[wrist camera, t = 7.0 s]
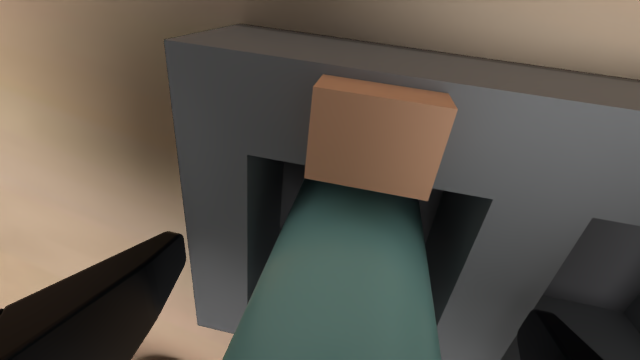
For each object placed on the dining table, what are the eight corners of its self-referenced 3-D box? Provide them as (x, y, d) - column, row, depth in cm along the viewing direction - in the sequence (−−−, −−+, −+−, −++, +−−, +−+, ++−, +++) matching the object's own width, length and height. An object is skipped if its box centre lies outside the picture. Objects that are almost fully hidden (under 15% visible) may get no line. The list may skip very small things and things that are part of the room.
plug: (402, 250, 13) (418, 560, 6) (299, 229, 13) (198, 495, 6) (431, 155, 11) (510, 457, 4) (308, 134, 11) (173, 371, 4)
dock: (660, 335, 13) (794, 504, 9) (242, 247, 15) (181, 352, 10) (879, 114, 8) (1384, 238, 4) (239, 23, 10) (130, 46, 6)
